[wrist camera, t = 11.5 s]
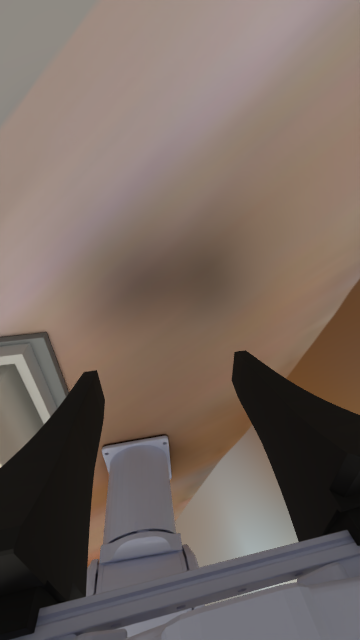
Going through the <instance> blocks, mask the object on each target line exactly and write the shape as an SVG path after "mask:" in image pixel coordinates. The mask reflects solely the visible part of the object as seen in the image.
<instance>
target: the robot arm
mask: <svg viewBox="0 0 360 640" xmlns="http://www.w3.org/2000/svg"><path fill="white" fill-rule="evenodd" d="M232 382H233V385H234V388H235V391H236V393H237V396H238V398H239V400H240V402H241V404H242V406H243V408H244V409H245V411H246V413H247V415H248V417H249V419H250V421H251V423H252V424H253V426H254V428H255V430H256V432H257V434H258V436H259V438H260V440H261V442H262V444H263V446H264V449H265V451H266V454H267V456H268V459H269V461H270V463H271V466H272V468H273V471H274V473H275V476H276V479H277V481H278V484H279V486H280V489H281V492H282V495H283V497H284V500H285V503H286V506H287V508H288V511H289V514H290V517H291V520H292V523H293V526H294V529H295V532H296V535H297V538H298V541H299V542H298V543H294V544H290V545H286V546H282V547H278V548H274V549H270V550H266V551H262V552H259V553H255V554H251V555H247V556H243V557H239V558H235V559H231V560H227V561H223V562H219V563H216V564H212V565H208V566H204V567H200V568H199V566H198V562H197V559H196V557H195V554H194V553H193V552H192V551H191V549H190V548H189V546H188V545H187V544H186V545H182V542H181V535H180V533H176V529H175V521H174V512H173V504H172V496H171V488H170V479H171V478H172V475H171V464H170V453H169V442H168V437H167V436H160V437H154V438H148V439H142V440H137V441H131V442H125V443H120V444H114V445H108V446H104V447H103V448H102V454H103V457H104V460H105V463H106V466H107V469H108V472H109V481H108V492H107V504H106V515H105V526H104V537H103V545H102V546H101V550H100V561H99V560H98V559H94V560H92V561H91V564H90V565H89V566H88V568H87V561H88V542H89V526H90V512H91V499H92V488H93V477H94V469H95V463H96V458H97V452H98V447H99V441H100V436H101V431H102V425H103V419H104V404H105V399H104V395H103V391H102V388H101V384H100V380H99V376H98V373H97V370H96V371H89V372H84V373H83V374H82V376H81V377H80V378H79V380H78V381H77V383H76V384H75V386H74V387H73V388H72V390H71V391H70V392H69V394H68V395H67V397H66V398H65V399H64V400H63V402H62V403H61V404H60V406H59V407H58V408H57V410H56V411H55V412H54V413H53V414H52V416H51V417H50V418H49V419H48V420H47V422H46V423H45V424H44V425H43V426H42V427H41V428H40V430H39V431H38V432H37V433H36V434H35V435H34V436H33V437H32V438H31V439H30V440H29V441H28V442H27V443H26V444H25V445H24V446H23V447H22V448H21V449H20V450H19V451H18V452H17V453H16V454H15V455H14V456H13V457H12V458H11V459H9V460H8V461H7V462H6V463H5V464H4V465H3V466H2V467H1V468H0V640H360V415H358V414H355V413H353V412H350V411H348V410H346V409H343V408H341V407H338V406H336V405H334V404H332V403H330V402H327V401H325V400H323V399H321V398H319V397H317V396H315V395H313V394H311V393H309V392H308V391H306V390H304V389H302V388H300V387H299V386H297V385H295V384H294V383H292V382H290V381H289V380H287V379H286V378H284V377H283V376H281V375H279V374H278V373H276V372H275V371H274V370H272V369H271V368H269V367H268V366H266V365H265V364H264V363H262V362H261V361H260V360H258V359H257V358H255V357H254V356H253V355H251V354H250V353H248V352H247V351H238V352H235V354H234V364H233V373H232ZM294 579H297V583H290V584H284V585H279V586H276V587H272V588H269V589H265V590H261V591H258V592H255V593H251V594H247V595H244V596H240V597H237V598H233V599H229V600H226V601H222V602H218V603H215V604H211V605H208V606H205V604H208V603H211V602H215V601H219V600H222V599H226V598H229V597H233V596H237V595H240V594H244V593H247V592H251V591H254V590H258V589H261V588H265V587H269V586H272V585H276V584H279V583H283V582H287V581H290V580H294Z"/></svg>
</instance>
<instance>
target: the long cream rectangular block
mask: <svg viewBox="0 0 360 640" xmlns="http://www.w3.org/2000/svg"><path fill="white" fill-rule="evenodd" d="M43 425H44V424H43V422H42V420H41V418H40V416H39V414H38V412H37V410H36V407H35V405H34V403H33V401H32V399H31V397H30V395H29V393H28V391H27V389H26V387H25V385H24V383H23V381H22V379H21V377H20V374H19V372H18V370H17V368H16V366H15V364H7V365H0V468H1V467H2V466H3V465H4V464H5V463H6V462H7V461H8V460H9V459H11V458H12V457H13V456H14V455H15V454H16V453H17V452H18V451H19V450H20V449H21V448H22V447H23V446H24V445H25V444H26V443H27V442H28V441H29V440H30V439H31V438H32V437H33V436H34V435H35V434H36V433H37V432H38V431H39V430H40V428H41V427H42V426H43Z"/></svg>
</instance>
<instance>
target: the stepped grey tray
mask: <svg viewBox="0 0 360 640" xmlns="http://www.w3.org/2000/svg"><path fill="white" fill-rule="evenodd" d="M7 364H15V366H16V368H17V370H18V372H19V374H20V377H21V379H22V381H23V383H24V385H25V387H26V389H27V391H28V393H29V395H30V397H31V399H32V401H33V403H34V405H35V407H36V410H37V412H38V414H39V416H40V418H41V420H42V422H43V424H45V423H46V422H47V420H48V419H49V418H50V417H51V416H52V414H53V413H54V412H55V411H56V410H57V408H58V407H59V406H60V404H61V403H62V402H63V400H64V399H65V398H66V397H67V395H68V394H69V392H68V390H67V387H66V384H65V381H64V379H63V376H62V373H61V370H60V368H59V365H58V362H57V360H56V357H55V354H54V351H53V349H52V346H51V343H50V340H49V338H48V335H47V332H45V333H36V334H27V335H18V336H9V337H0V365H7Z"/></svg>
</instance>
